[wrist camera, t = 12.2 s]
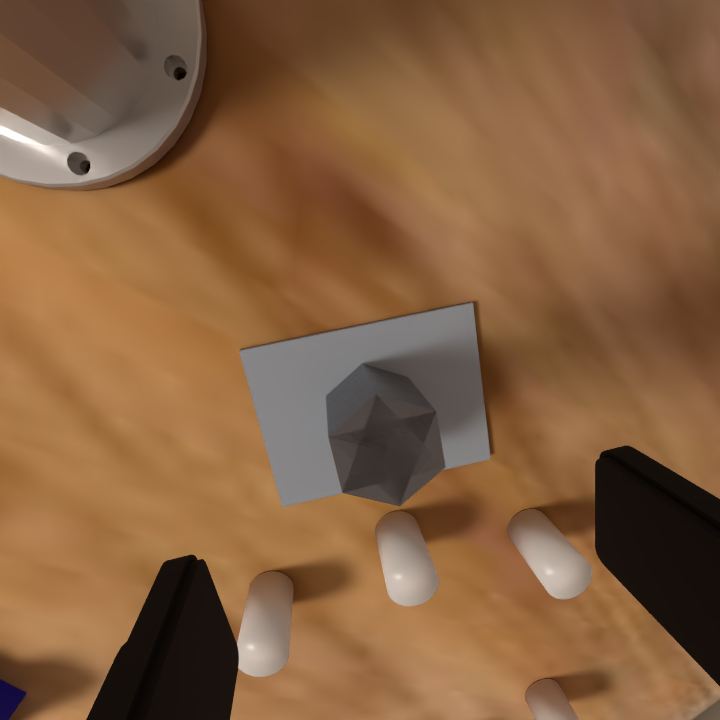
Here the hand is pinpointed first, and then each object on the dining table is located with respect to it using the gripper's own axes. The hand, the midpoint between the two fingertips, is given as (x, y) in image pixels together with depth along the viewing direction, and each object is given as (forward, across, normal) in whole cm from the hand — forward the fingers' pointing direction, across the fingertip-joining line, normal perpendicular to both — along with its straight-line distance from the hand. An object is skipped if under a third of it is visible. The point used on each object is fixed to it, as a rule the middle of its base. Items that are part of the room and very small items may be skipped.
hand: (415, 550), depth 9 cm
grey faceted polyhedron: (+11, -1, +1) cm, 12 cm away
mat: (+12, -1, +2) cm, 12 cm away
